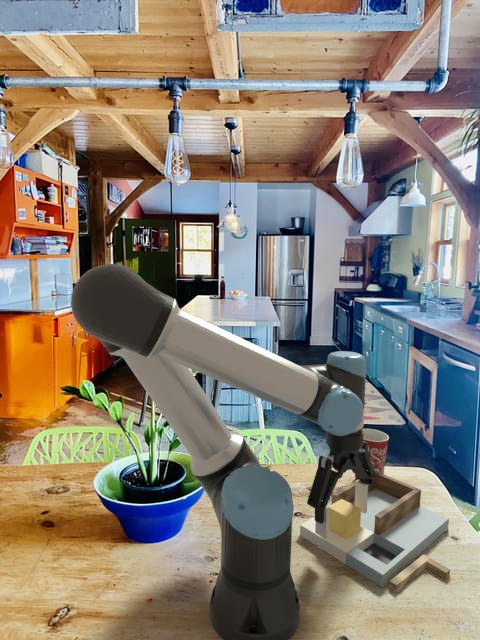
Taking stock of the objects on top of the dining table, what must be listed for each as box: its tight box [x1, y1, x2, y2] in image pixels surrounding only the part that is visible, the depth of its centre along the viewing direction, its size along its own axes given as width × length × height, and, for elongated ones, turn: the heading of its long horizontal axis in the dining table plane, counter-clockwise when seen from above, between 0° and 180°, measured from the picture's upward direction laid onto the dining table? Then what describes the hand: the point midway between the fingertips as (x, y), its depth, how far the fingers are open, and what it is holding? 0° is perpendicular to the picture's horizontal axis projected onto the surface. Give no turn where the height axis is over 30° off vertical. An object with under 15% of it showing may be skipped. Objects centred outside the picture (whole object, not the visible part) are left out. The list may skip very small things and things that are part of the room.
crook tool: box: [388, 554, 451, 593], centre depth 80 cm, size 12×5×1 cm, turn 128°
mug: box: [350, 428, 390, 481], centre depth 118 cm, size 13×9×14 cm
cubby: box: [331, 471, 422, 535], centre depth 100 cm, size 18×12×4 cm
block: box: [327, 499, 361, 540], centre depth 92 cm, size 5×5×5 cm
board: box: [299, 489, 450, 588], centre depth 95 cm, size 28×20×2 cm
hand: (342, 522), depth 91 cm, fingers open, 13 cm apart
